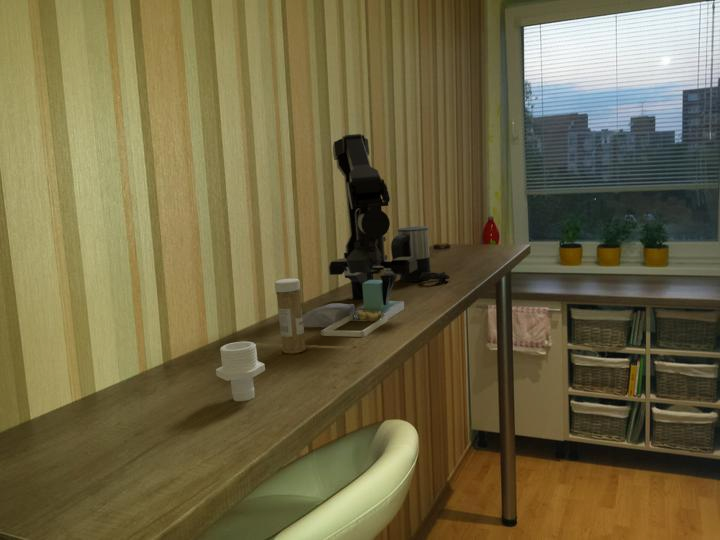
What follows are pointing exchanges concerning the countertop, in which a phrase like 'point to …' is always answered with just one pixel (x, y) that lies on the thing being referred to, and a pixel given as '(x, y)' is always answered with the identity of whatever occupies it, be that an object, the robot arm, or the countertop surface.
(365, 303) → the mint green brick
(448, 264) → the countertop surface
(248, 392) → the pipe fitting
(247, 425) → the countertop surface
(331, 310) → the stone block
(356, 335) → the chip tray
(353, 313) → the channel
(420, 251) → the milk frother
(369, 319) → the chip
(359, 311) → the chip
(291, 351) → the sprinkles bottle
